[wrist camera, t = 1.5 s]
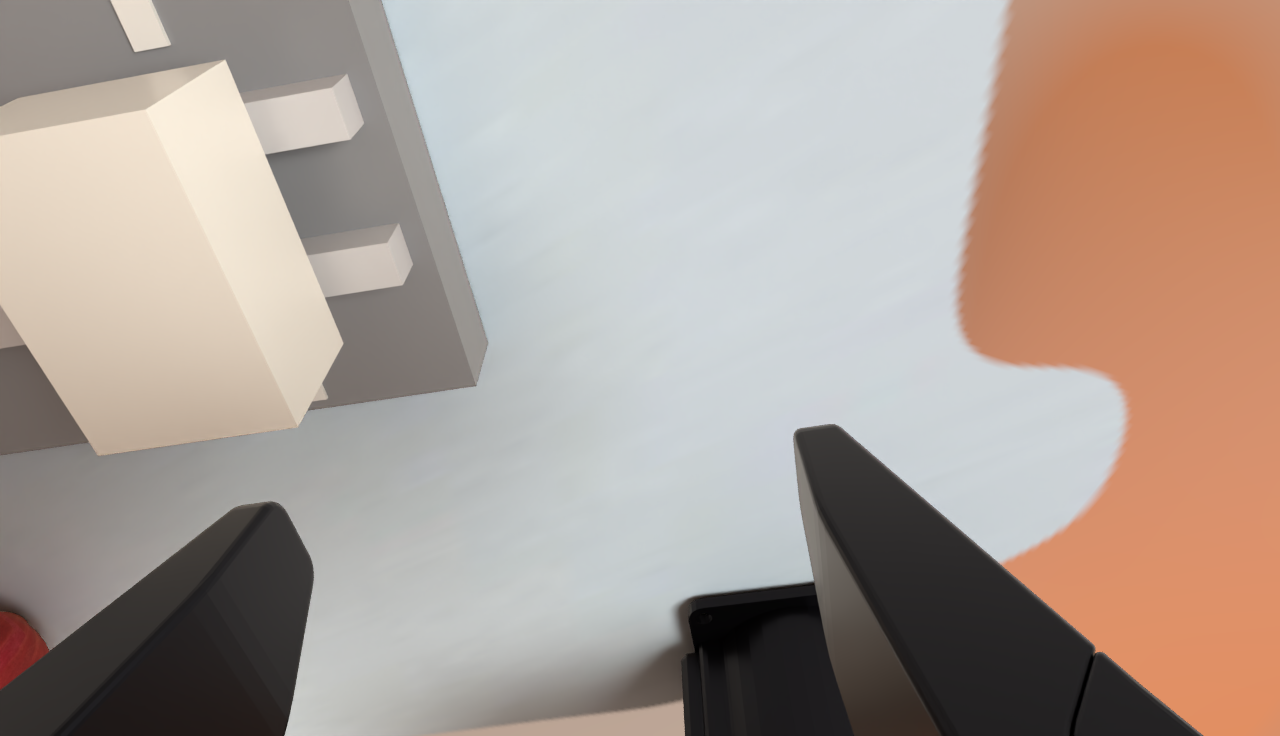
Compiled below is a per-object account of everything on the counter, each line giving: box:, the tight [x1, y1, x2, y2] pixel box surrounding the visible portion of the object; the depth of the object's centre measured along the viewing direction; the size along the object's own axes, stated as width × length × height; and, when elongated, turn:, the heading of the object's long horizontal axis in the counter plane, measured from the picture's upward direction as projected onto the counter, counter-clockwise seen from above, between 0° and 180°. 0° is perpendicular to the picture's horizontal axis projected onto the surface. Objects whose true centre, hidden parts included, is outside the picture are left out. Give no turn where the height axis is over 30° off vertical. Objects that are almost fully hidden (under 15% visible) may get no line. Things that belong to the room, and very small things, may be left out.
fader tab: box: [0, 60, 344, 456], centre depth 17 cm, size 4×6×4 cm, turn 10°
